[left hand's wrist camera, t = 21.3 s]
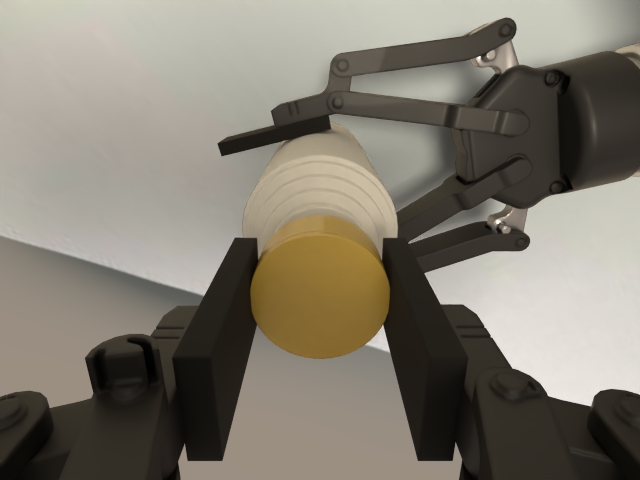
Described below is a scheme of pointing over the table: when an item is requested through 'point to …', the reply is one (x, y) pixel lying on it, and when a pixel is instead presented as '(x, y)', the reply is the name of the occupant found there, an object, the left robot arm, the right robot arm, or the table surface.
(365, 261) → the cap
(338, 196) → the bottle
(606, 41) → the table surface
